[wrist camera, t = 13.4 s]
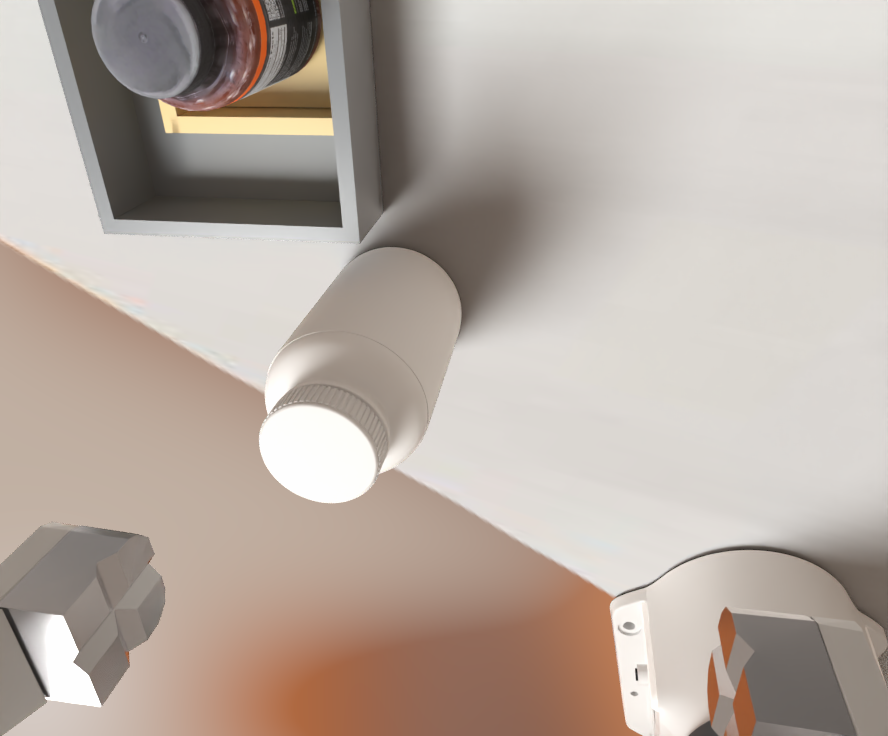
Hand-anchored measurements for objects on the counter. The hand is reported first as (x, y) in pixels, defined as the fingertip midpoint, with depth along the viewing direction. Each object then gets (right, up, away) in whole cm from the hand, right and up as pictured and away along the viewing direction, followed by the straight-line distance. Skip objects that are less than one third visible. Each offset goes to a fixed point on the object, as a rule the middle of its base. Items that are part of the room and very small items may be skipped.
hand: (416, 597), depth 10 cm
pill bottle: (-2, +7, +32) cm, 32 cm away
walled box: (-10, +19, +26) cm, 33 cm away
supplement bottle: (-8, +20, +24) cm, 32 cm away
